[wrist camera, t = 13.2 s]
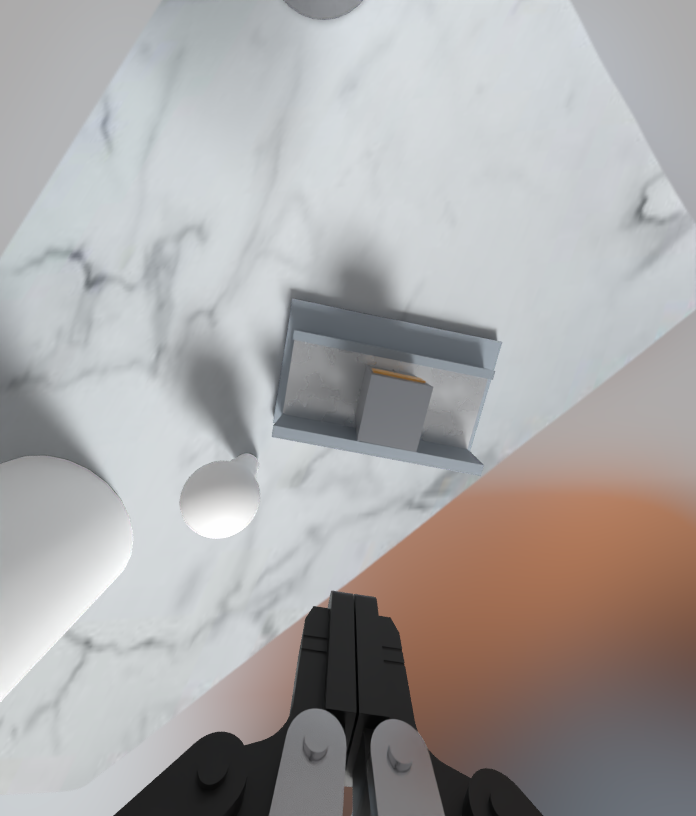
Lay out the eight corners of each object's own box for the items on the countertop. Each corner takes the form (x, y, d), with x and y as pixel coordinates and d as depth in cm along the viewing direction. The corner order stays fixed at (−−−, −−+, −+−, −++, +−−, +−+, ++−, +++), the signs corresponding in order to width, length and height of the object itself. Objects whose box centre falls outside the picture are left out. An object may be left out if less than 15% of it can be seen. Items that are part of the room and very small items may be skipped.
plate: (296, 339, 31) (294, 339, 30) (481, 376, 32) (488, 378, 31) (285, 410, 33) (282, 413, 31) (462, 444, 34) (467, 449, 32)
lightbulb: (221, 430, 34) (164, 474, 24) (280, 437, 34) (251, 485, 24) (218, 484, 36) (163, 550, 25) (275, 491, 36) (245, 560, 25)
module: (366, 363, 30) (372, 372, 23) (414, 373, 31) (433, 385, 24) (354, 417, 31) (357, 440, 25) (401, 426, 32) (416, 452, 25)
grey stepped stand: (294, 299, 31) (280, 290, 25) (497, 341, 32) (534, 343, 26) (275, 420, 34) (258, 440, 28) (464, 456, 35) (490, 483, 29)
